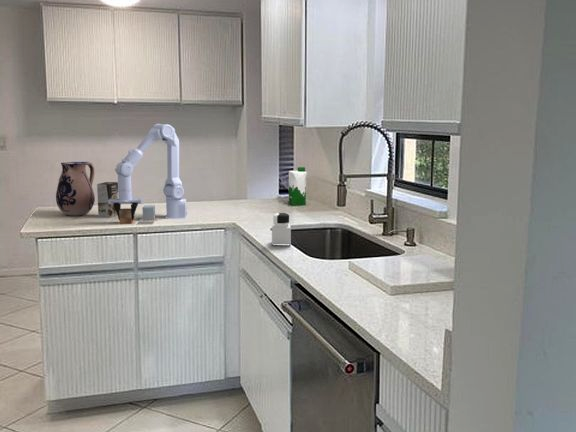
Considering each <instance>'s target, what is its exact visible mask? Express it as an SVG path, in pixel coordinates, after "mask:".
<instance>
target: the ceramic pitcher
mask: <svg viewBox="0 0 576 432" xmlns="http://www.w3.org/2000/svg"><path fill="white" fill-rule="evenodd" d="M60 165H61V168H62V169H61V174H60V176H59V179H58V183H57V188H56V192H55V201H56V205H57V208H58V209H59V210H60V211H61V213H63V214H65V215H66V216H74V217H76V216H79V217H80V216H85V215H86V214H87V213H89V212H90V211H91V210H92V208H94V205H95V201H96V198H95V197H96V196H95V192H94V188H93V183H94V179H95V167H94V165H93V163H92V162H90V161H69V162H64V161H63V162H61V163H60ZM86 166H88V168H89V172H90V173H89V176H88V173H87V169H86Z"/></svg>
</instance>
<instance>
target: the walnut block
mask: <svg viewBox="0 0 576 432" xmlns="http://www.w3.org/2000/svg"><path fill="white" fill-rule="evenodd" d="M119 217H120V220H119V221H120V224H126V225H132V224H131V223H132V222H133V221H134V220H132V218H131V217H132V212H131V207H130V208H121V209H120V210H119Z"/></svg>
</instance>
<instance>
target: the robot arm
mask: <svg viewBox="0 0 576 432" xmlns="http://www.w3.org/2000/svg"><path fill="white" fill-rule="evenodd" d="M177 135H178V134H177V133H176V129H175V128H174V127H173V126H172V125H171V124H167V123H166V124H163V123H162V124H161V123H156V124H154V125H153V126H152V127H151V128H150V130H149V131H148V133H147V134H146V135H145V137H144V139H143V140H142V141H141V142H140V143H139V144H138V145H137V148H133V149H130V150H128V152H127V153H128V154H127V155H126V156H125V157H124V158H122V160H121V161H120V162H118V163H117V164H116V166H115V167H116V168H115V169H114V171H115V173H116V174H117V182H118V198H119V199H109V200H108V202H109V204H113V207H114V208H115V210H116V212H117V219H118V221H120V217H119V210H120V209H122V208H121V207H122V205H121V204H123V205H124V204H126V205H127V204H130V208H131V212H132V217H131V218H132V220H133V221H135V214H136V210H137V207H138V206H139V204H140V205H142V204H143V198H133V189H132V174H134V173H133V172H134V168H135V167H136V166H137V165H138V163H140V161H142V159H143V154H144V152H146V150H147V149H148V148H149V147H150V146H151V145H152V144H153V143H154V142H155V141H163V142H164V143H165V144H166V149H167V154H166V155H167V157H166V159H167V178H166V180H165V182H164V187H163V194H164V196H165V203H166V207H165V208H166V216H165V217H164V218H165V219H186V218H187V215H188V211H187V199H186V198H183V197H184V195H185V189H184V187H183V182H182V180H181V179H180V140H179V137H178V136H177Z"/></svg>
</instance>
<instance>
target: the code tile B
mask: <svg viewBox="0 0 576 432" xmlns="http://www.w3.org/2000/svg"><path fill="white" fill-rule="evenodd" d="M158 220H159V217H155V219H154V220H143V217H141V218H140V219H139V221H154V222H157V221H158Z"/></svg>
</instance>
